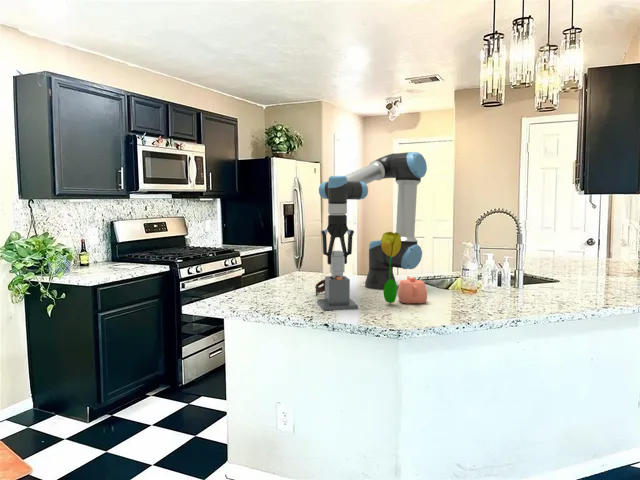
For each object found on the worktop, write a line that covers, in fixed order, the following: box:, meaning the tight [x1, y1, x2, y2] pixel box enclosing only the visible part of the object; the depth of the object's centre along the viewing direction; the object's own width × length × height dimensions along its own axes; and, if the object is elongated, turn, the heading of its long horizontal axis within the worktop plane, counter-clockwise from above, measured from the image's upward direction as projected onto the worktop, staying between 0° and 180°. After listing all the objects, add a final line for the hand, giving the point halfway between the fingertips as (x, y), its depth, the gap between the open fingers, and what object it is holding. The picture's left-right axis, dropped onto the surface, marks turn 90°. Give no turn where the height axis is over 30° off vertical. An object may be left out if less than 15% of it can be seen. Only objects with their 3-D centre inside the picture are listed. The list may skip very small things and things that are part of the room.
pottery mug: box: [314, 278, 325, 296], centre depth 218 cm, size 12×10×8 cm
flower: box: [380, 231, 401, 306], centre depth 197 cm, size 9×8×30 cm
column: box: [330, 250, 344, 279], centre depth 195 cm, size 4×6×21 cm
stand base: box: [316, 275, 359, 311], centre depth 195 cm, size 14×14×12 cm
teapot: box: [397, 275, 428, 305], centre depth 203 cm, size 12×18×10 cm, turn 0°
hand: (337, 272), depth 195 cm, fingers closed on column, 4 cm apart
